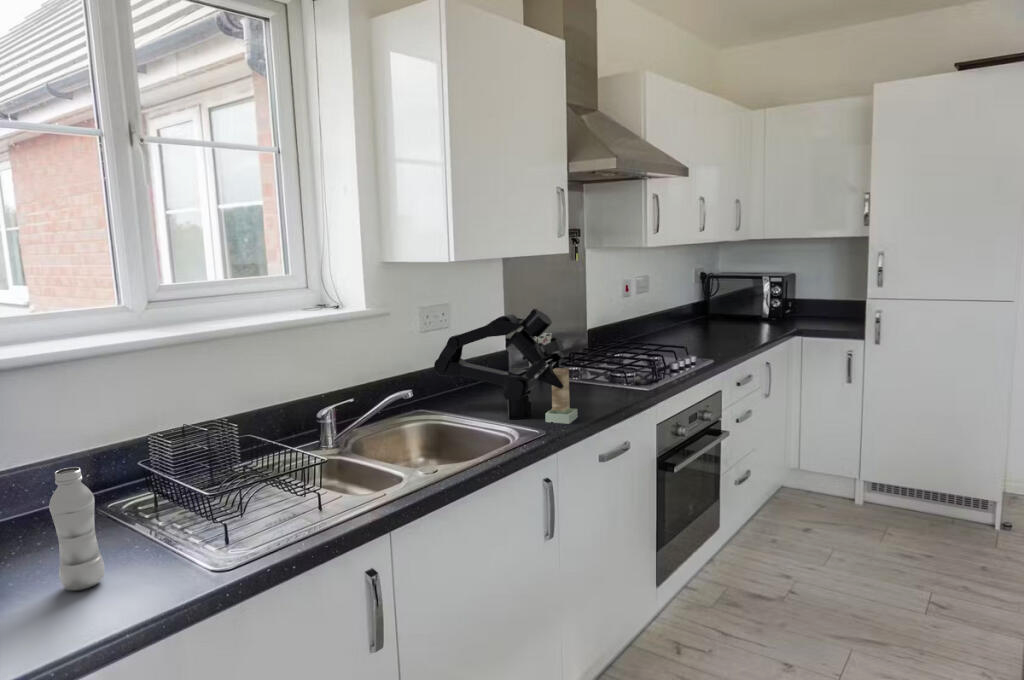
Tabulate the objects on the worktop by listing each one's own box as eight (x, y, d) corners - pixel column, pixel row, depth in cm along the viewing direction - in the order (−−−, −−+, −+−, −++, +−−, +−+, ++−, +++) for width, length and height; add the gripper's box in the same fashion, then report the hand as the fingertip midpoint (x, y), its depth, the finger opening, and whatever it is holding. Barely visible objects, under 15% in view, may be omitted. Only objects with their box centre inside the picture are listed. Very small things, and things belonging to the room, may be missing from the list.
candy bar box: (543, 373, 278) (541, 332, 275) (554, 374, 275) (552, 333, 272) (528, 378, 268) (526, 336, 266) (539, 379, 266) (538, 337, 263)
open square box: (545, 422, 205) (545, 413, 205) (554, 415, 212) (554, 407, 212) (569, 423, 202) (569, 415, 202) (577, 417, 209) (577, 408, 209)
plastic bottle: (68, 600, 112) (51, 480, 109) (55, 587, 116) (38, 472, 114) (112, 584, 117) (96, 469, 114) (98, 572, 121) (82, 461, 118)
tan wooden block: (552, 410, 206) (551, 370, 204) (557, 407, 209) (556, 367, 208) (565, 411, 204) (564, 371, 202) (569, 408, 208) (568, 368, 206)
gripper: (534, 333, 196) (572, 374, 194) (557, 325, 213) (592, 362, 210) (509, 360, 201) (546, 400, 198) (534, 349, 218) (568, 386, 215)
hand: (564, 386), depth 205 cm, fingers closed on tan wooden block, 4 cm apart
